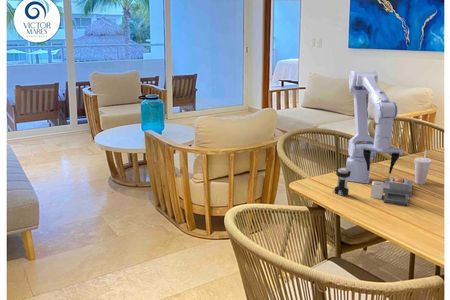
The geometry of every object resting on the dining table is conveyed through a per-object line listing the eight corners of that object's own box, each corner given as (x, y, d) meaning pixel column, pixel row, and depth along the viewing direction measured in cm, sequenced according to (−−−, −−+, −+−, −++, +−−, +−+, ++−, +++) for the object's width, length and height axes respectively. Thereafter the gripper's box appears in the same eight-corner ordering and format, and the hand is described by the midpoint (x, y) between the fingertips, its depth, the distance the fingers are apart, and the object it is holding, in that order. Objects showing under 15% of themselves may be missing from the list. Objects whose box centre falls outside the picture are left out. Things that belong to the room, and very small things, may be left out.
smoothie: (430, 186, 187) (434, 152, 183) (412, 184, 188) (417, 151, 184) (426, 180, 193) (431, 147, 189) (410, 179, 194) (414, 146, 190)
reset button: (393, 186, 179) (394, 179, 179) (394, 183, 182) (394, 177, 181) (402, 187, 178) (402, 180, 178) (402, 184, 181) (403, 178, 180)
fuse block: (370, 197, 175) (371, 183, 174) (371, 193, 179) (372, 180, 177) (381, 199, 174) (383, 185, 172) (382, 195, 177) (384, 181, 176)
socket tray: (383, 202, 170) (384, 199, 170) (385, 195, 177) (385, 191, 177) (407, 206, 168) (407, 202, 167) (408, 198, 175) (408, 194, 174)
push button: (328, 193, 178) (330, 168, 175) (335, 189, 182) (337, 165, 179) (344, 198, 174) (346, 172, 171) (351, 194, 178) (353, 169, 175)
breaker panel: (382, 192, 180) (384, 181, 178) (385, 182, 190) (386, 172, 189) (411, 196, 176) (412, 185, 175) (411, 186, 187) (413, 175, 185)
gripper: (360, 136, 169) (357, 172, 172) (404, 140, 163) (399, 177, 167) (363, 131, 175) (359, 166, 179) (404, 135, 170) (400, 171, 174)
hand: (379, 171), depth 173 cm, fingers open, 7 cm apart
